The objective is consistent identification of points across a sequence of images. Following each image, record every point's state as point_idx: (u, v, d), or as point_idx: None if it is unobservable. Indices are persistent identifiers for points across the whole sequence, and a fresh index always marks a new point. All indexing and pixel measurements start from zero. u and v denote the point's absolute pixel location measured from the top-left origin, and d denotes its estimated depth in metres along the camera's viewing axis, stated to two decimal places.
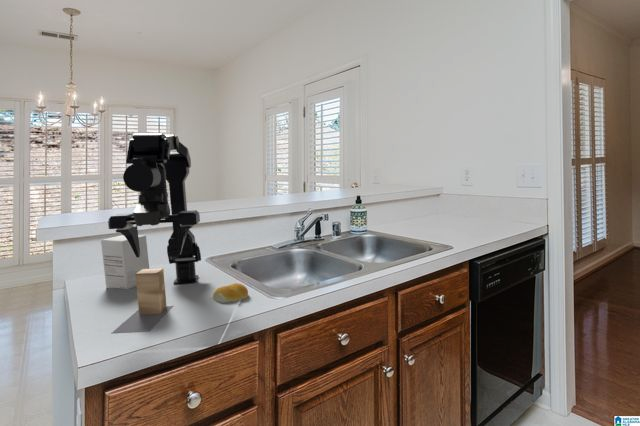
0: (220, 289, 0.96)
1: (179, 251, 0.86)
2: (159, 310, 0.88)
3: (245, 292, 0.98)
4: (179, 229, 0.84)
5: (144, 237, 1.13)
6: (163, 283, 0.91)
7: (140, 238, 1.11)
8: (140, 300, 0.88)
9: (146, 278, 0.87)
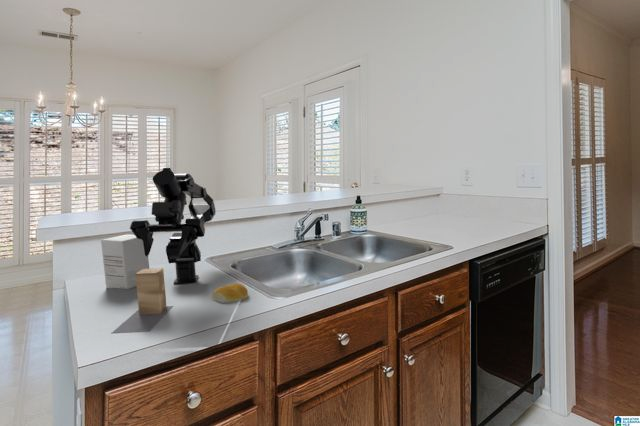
0: (220, 289, 0.96)
1: (179, 250, 0.97)
2: (159, 310, 0.88)
3: (245, 292, 0.98)
4: (183, 228, 0.99)
5: None
6: (163, 283, 0.91)
7: None
8: (140, 300, 0.88)
9: (146, 278, 0.87)
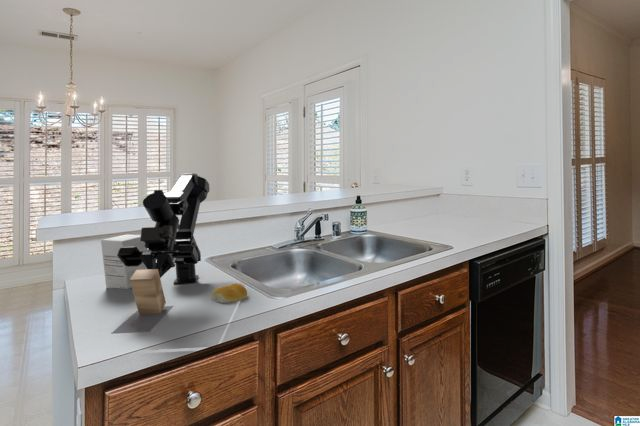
0: (219, 289, 0.96)
1: None
2: (159, 310, 0.88)
3: (244, 292, 0.98)
4: (158, 256, 0.92)
5: None
6: (159, 283, 0.88)
7: None
8: (138, 302, 0.87)
9: (141, 283, 0.84)
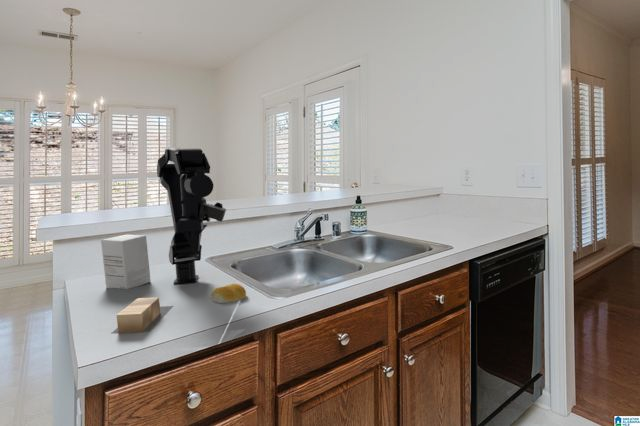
0: (218, 290, 0.96)
1: (199, 248, 1.02)
2: None
3: (243, 292, 0.97)
4: (205, 227, 1.02)
5: (144, 237, 1.13)
6: (148, 310, 0.81)
7: (140, 238, 1.11)
8: None
9: None
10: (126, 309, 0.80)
